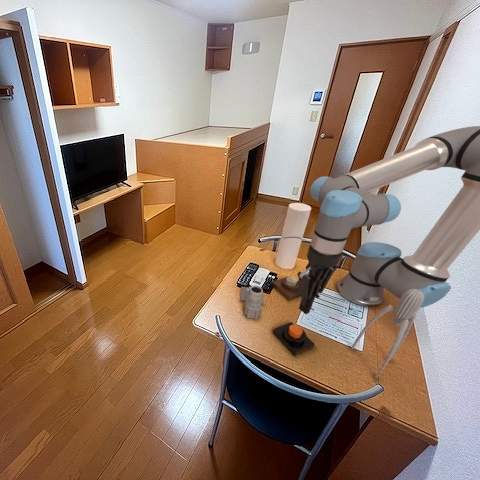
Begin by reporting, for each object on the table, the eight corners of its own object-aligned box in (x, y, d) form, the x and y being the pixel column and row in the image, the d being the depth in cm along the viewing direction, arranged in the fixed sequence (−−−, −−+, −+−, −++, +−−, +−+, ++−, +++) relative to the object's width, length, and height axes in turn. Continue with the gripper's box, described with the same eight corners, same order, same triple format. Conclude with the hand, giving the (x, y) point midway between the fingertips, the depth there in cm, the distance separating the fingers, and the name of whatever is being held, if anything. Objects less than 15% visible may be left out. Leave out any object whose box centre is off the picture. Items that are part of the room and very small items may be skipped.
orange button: (294, 327, 89) (295, 323, 88) (303, 336, 86) (305, 332, 85) (285, 330, 88) (286, 326, 87) (294, 340, 85) (296, 336, 84)
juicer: (404, 376, 77) (462, 302, 61) (375, 379, 76) (426, 305, 61) (376, 345, 86) (421, 275, 70) (350, 348, 85) (389, 277, 70)
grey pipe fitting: (243, 293, 92) (244, 268, 105) (239, 316, 98) (240, 291, 111) (269, 297, 90) (267, 271, 102) (264, 321, 96) (261, 294, 108)
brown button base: (289, 279, 115) (291, 272, 113) (307, 293, 107) (309, 286, 105) (271, 285, 113) (272, 278, 110) (288, 300, 104) (290, 293, 102)
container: (296, 269, 121) (313, 211, 106) (276, 268, 123) (291, 210, 107) (292, 259, 128) (308, 203, 113) (273, 257, 130) (287, 202, 114)
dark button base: (290, 326, 94) (292, 318, 92) (313, 348, 86) (316, 340, 84) (272, 333, 91) (274, 325, 89) (294, 356, 83) (297, 348, 81)
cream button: (290, 279, 110) (291, 275, 109) (298, 284, 107) (299, 281, 106) (283, 281, 109) (284, 277, 108) (290, 287, 106) (291, 283, 105)
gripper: (330, 236, 74) (309, 297, 87) (295, 247, 70) (278, 308, 83) (356, 249, 68) (329, 312, 80) (319, 261, 64) (297, 326, 77)
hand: (303, 310), depth 82 cm, fingers closed
